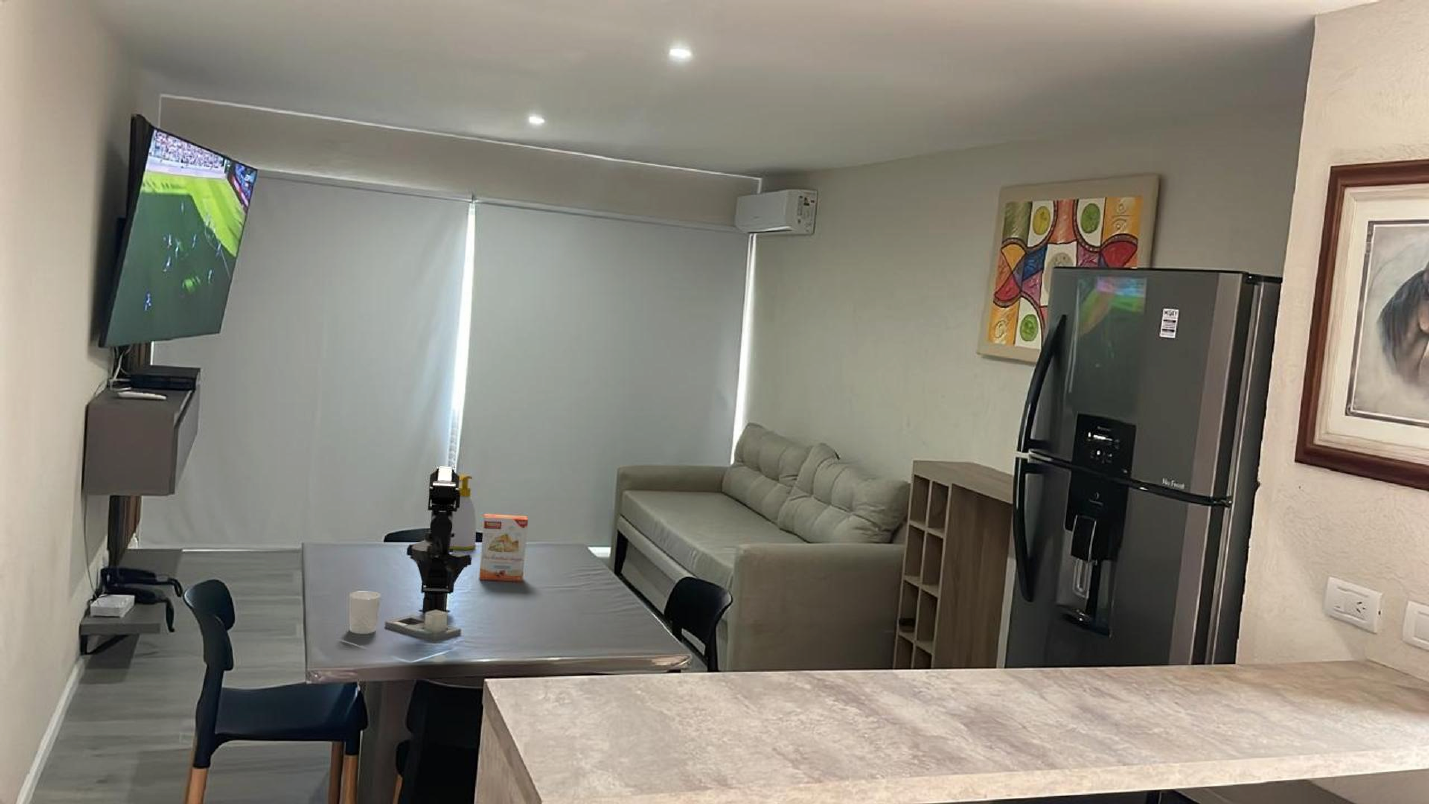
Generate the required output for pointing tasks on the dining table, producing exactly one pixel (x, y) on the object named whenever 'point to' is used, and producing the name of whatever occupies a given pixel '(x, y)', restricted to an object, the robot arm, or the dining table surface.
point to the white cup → (364, 611)
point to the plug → (435, 621)
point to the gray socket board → (420, 628)
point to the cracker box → (503, 547)
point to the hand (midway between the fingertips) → (436, 586)
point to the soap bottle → (464, 519)
